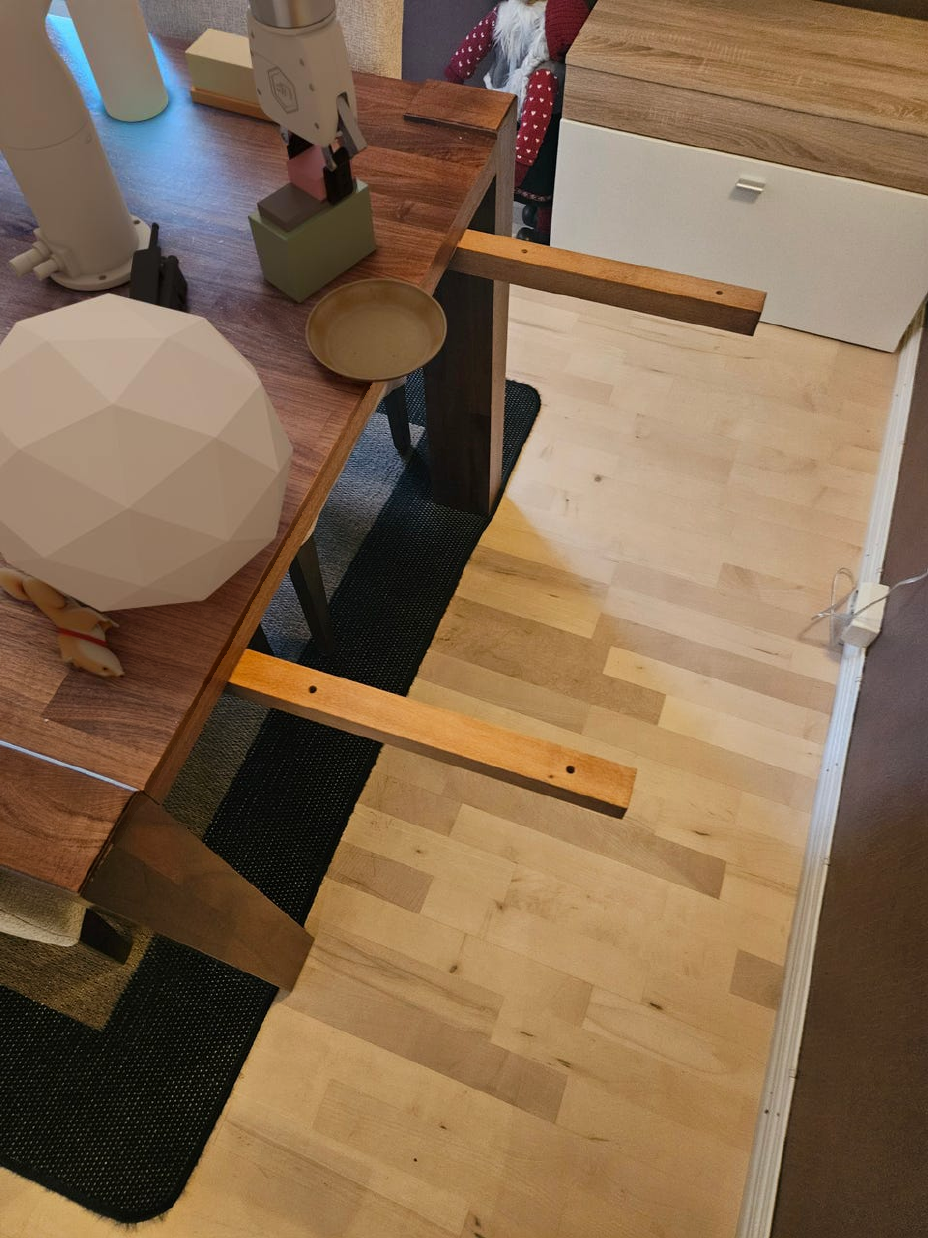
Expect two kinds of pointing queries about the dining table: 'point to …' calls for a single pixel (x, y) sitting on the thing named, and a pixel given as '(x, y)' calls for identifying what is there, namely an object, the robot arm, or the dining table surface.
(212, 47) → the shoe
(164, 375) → the geometric shape
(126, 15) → the cup
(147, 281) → the walkie-talkie
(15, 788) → the dining table surface
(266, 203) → the grey and pink l-bracket
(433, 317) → the plant saucer
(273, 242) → the rectangular block
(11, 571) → the toy
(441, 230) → the dining table surface
